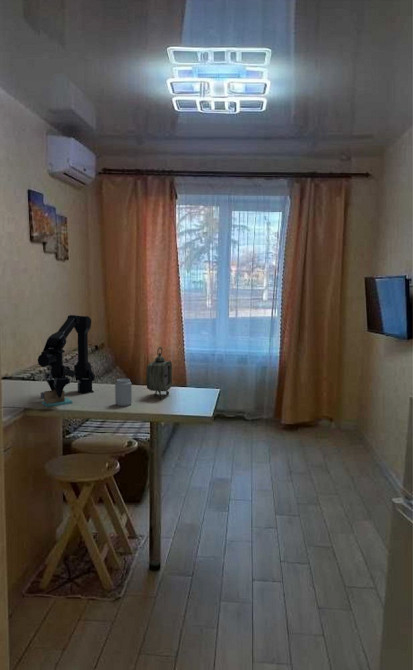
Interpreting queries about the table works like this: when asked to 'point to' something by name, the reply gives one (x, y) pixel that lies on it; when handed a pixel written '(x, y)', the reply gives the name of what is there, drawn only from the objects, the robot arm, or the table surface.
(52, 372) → the robot arm
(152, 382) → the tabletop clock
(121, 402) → the can
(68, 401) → the pad
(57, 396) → the walnut block
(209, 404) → the table surface
